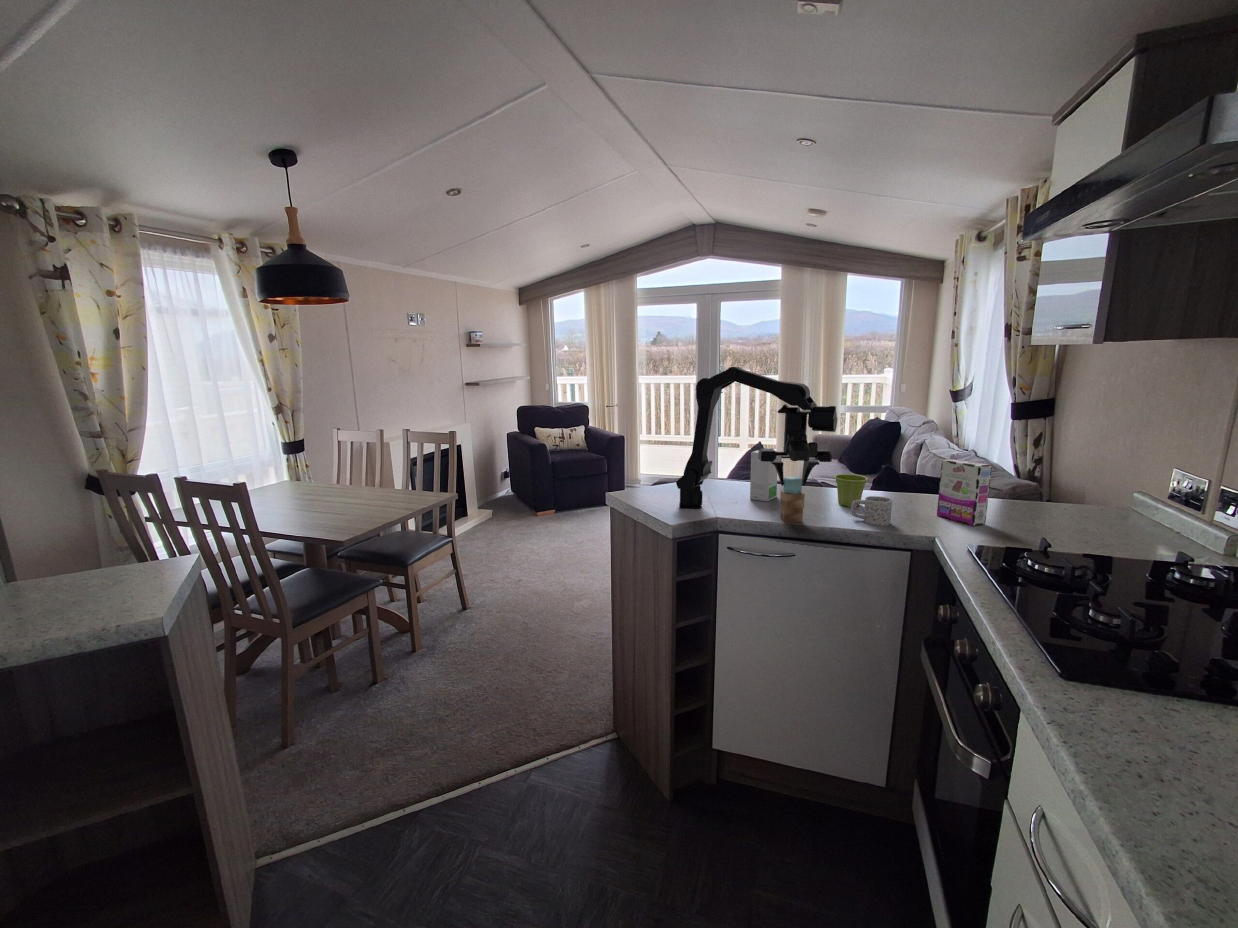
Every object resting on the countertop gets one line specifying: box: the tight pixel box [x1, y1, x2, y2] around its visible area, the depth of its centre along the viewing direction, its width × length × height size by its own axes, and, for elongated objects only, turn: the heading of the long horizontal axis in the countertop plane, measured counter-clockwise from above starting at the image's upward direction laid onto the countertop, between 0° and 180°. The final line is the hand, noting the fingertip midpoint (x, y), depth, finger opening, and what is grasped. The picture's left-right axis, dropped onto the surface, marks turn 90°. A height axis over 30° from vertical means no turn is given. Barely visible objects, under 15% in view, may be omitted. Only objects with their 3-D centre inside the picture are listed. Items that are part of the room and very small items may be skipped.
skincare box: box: [749, 449, 779, 502], centre depth 172 cm, size 8×7×16 cm
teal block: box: [782, 476, 803, 494], centre depth 148 cm, size 5×5×4 cm
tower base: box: [780, 504, 804, 523], centre depth 149 cm, size 5×5×4 cm
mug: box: [850, 495, 893, 527], centre depth 146 cm, size 10×7×7 cm, turn 59°
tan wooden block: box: [779, 489, 806, 509], centre depth 149 cm, size 5×5×4 cm
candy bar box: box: [936, 458, 993, 527], centre depth 145 cm, size 11×5×16 cm, turn 21°
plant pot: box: [834, 473, 869, 508], centre depth 163 cm, size 9×9×9 cm
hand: (792, 485), depth 148 cm, fingers open, 5 cm apart
